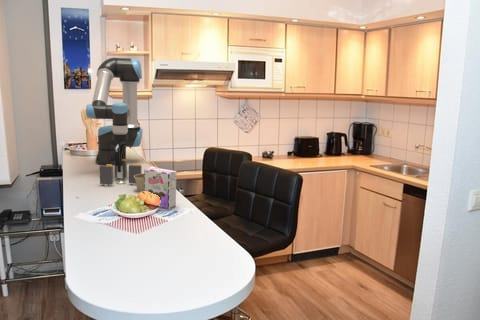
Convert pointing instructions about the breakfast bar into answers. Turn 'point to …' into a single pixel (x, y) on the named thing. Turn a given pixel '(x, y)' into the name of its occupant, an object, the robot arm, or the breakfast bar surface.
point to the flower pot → (139, 182)
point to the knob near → (124, 165)
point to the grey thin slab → (134, 172)
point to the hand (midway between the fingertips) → (120, 176)
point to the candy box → (161, 185)
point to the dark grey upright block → (106, 175)
